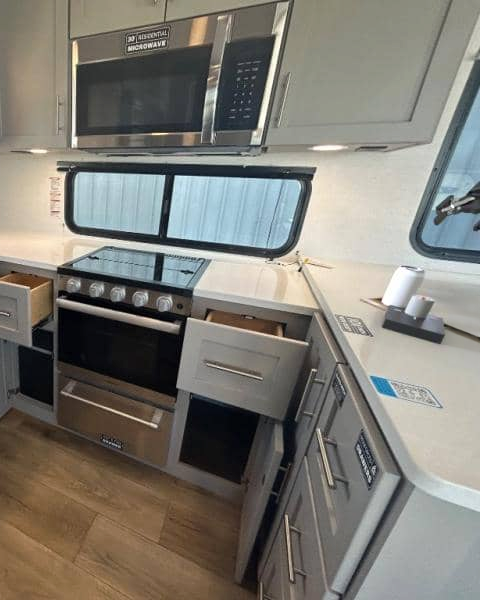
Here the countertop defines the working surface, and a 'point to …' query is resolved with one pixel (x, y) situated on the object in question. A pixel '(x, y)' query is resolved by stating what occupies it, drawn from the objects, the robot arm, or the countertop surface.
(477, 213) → the robot arm
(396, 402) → the countertop surface
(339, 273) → the countertop surface
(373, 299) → the cork mat
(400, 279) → the can
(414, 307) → the knob
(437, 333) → the block
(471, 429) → the countertop surface
